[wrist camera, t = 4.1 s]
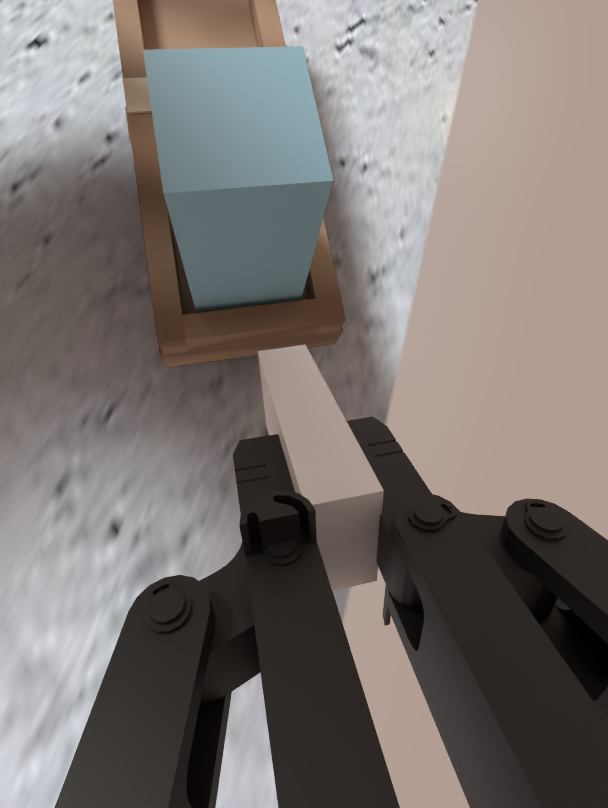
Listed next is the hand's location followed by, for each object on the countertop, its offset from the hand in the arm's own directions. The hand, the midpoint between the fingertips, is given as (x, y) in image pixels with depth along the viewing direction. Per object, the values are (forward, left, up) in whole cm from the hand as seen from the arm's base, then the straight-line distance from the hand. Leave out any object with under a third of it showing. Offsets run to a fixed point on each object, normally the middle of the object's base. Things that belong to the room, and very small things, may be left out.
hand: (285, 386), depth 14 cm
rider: (-7, +4, -7) cm, 10 cm away
